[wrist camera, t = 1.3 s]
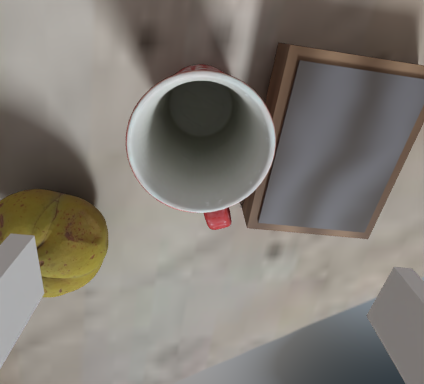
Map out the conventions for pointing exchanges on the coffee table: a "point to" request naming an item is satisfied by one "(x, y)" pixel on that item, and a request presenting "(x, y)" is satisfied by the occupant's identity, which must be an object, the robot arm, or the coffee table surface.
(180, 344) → the coffee table surface
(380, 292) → the robot arm
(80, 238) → the fruit
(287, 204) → the stand
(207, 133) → the mug
